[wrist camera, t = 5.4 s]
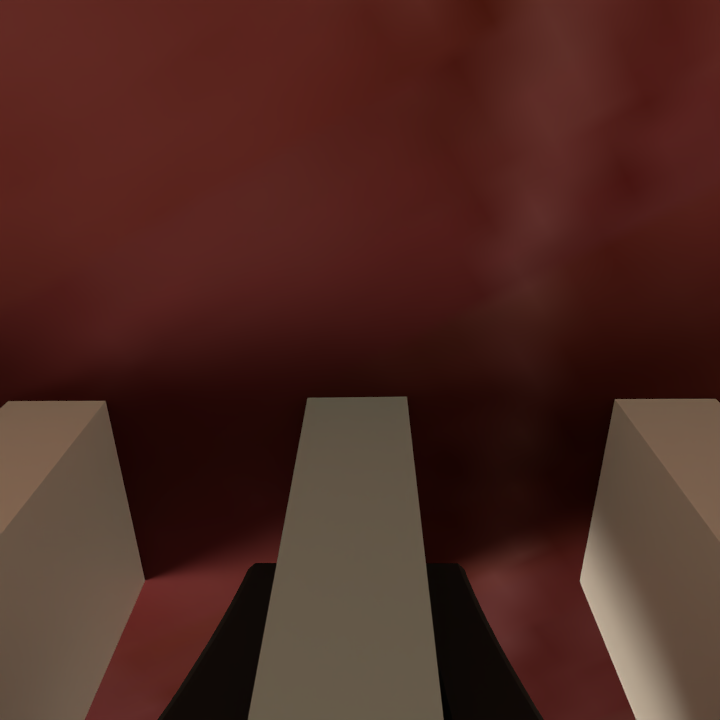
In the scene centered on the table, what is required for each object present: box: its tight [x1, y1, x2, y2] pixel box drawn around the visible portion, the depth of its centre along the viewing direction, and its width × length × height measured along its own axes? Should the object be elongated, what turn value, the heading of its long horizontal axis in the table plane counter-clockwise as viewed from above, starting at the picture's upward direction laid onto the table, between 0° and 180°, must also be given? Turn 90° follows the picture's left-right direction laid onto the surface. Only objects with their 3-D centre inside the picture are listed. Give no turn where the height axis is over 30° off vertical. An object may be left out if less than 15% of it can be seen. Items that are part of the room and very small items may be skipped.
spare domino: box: [248, 397, 444, 720], centre depth 9 cm, size 2×4×7 cm, turn 1°
